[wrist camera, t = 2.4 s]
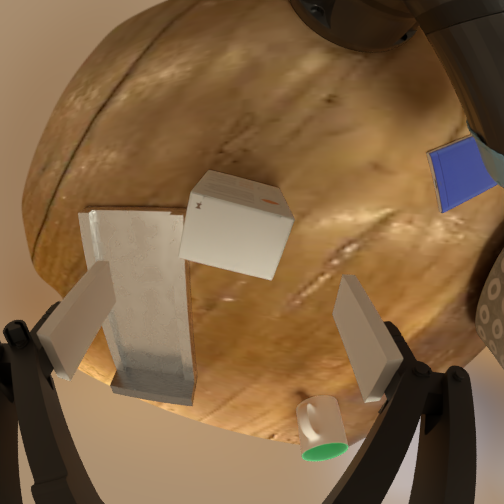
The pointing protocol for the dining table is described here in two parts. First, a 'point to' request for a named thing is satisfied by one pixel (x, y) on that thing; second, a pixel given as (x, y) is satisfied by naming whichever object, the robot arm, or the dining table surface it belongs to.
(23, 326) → the robot arm
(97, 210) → the tray
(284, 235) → the small box
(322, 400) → the mug
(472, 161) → the hard drive
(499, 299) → the planter
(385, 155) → the dining table surface
